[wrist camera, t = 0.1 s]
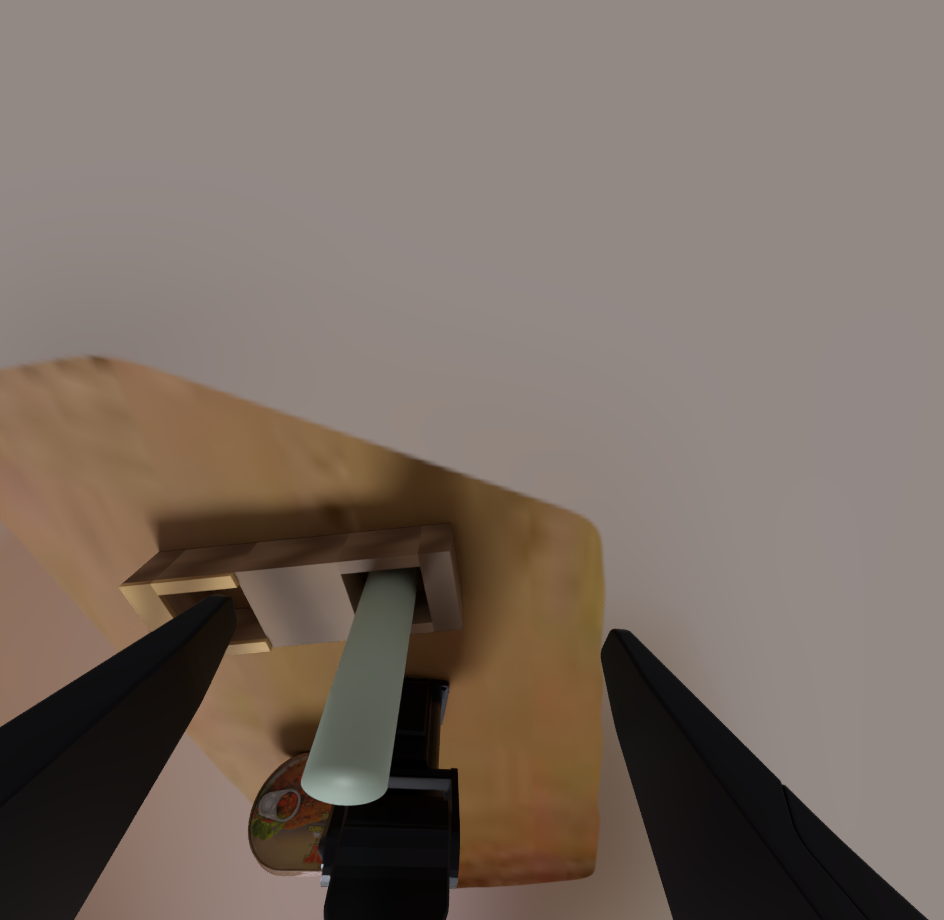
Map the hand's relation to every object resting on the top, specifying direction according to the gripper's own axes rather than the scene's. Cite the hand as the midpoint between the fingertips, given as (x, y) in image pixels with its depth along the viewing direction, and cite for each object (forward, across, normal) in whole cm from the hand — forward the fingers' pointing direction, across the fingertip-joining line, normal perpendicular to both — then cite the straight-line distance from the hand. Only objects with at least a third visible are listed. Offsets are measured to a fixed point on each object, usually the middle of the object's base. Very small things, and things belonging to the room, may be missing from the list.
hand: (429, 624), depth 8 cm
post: (+15, +2, +12) cm, 19 cm away
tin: (+15, +6, +40) cm, 43 cm away
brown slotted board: (+15, +8, +14) cm, 22 cm away
